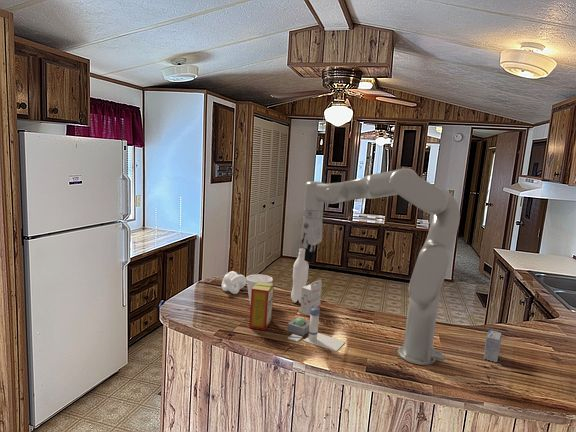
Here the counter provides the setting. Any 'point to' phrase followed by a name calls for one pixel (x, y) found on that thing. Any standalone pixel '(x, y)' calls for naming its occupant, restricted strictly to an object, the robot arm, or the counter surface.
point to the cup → (254, 279)
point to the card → (295, 337)
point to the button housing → (298, 327)
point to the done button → (299, 321)
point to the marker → (313, 324)
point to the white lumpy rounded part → (233, 282)
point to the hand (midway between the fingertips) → (308, 261)
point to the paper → (327, 342)
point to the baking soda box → (261, 305)
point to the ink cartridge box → (310, 297)
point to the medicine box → (492, 346)
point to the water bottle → (299, 276)
